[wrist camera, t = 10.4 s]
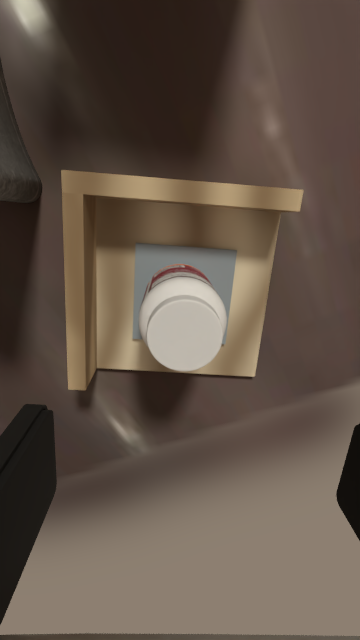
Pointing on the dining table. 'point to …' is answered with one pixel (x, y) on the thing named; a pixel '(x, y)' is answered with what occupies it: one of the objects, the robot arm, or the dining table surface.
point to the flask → (14, 156)
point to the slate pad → (207, 260)
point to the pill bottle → (182, 318)
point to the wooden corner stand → (166, 229)
